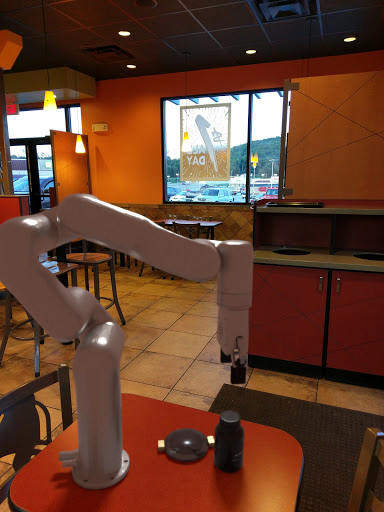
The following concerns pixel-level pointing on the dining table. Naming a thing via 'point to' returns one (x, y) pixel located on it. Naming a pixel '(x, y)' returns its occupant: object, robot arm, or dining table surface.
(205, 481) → the dining table surface
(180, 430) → the base
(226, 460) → the supplement bottle
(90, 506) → the dining table surface
